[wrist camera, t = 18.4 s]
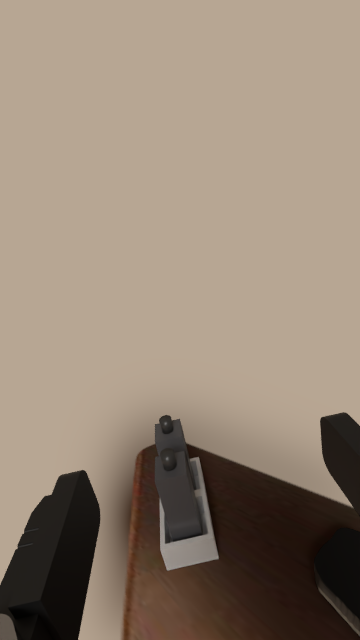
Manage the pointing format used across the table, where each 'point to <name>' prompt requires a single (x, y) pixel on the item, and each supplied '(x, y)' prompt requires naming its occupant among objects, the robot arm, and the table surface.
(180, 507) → the plug
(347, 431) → the robot arm
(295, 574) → the table surface
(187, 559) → the grey rectangular tray
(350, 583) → the black sponge
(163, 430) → the twin plug
